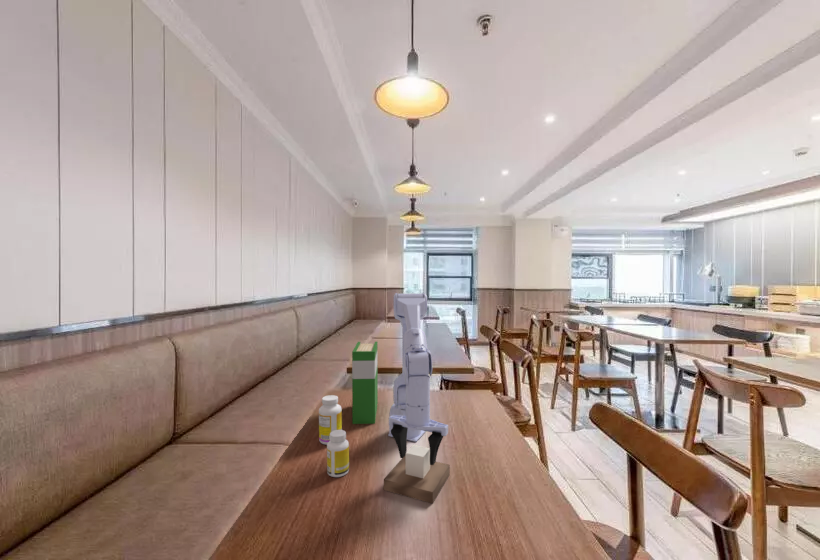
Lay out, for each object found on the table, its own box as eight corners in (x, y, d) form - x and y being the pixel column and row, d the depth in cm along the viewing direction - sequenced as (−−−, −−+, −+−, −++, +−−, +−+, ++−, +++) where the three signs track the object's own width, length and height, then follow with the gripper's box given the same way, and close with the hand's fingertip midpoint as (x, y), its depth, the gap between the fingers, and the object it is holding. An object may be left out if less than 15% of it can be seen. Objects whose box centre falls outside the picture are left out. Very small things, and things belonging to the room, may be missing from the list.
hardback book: (358, 404, 134) (357, 341, 134) (377, 404, 134) (377, 341, 134) (352, 424, 116) (352, 351, 116) (374, 423, 117) (374, 351, 116)
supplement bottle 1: (338, 433, 109) (338, 392, 109) (344, 442, 103) (344, 399, 103) (316, 438, 106) (316, 395, 106) (321, 447, 100) (321, 403, 100)
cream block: (405, 474, 83) (405, 452, 83) (413, 464, 87) (413, 444, 87) (423, 478, 81) (423, 456, 81) (430, 468, 85) (430, 448, 85)
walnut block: (383, 489, 81) (383, 479, 81) (405, 464, 92) (405, 454, 92) (432, 503, 76) (432, 492, 76) (449, 474, 87) (449, 464, 87)
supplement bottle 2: (352, 468, 90) (352, 430, 90) (342, 479, 85) (341, 439, 85) (334, 464, 92) (334, 427, 91) (322, 475, 86) (322, 436, 86)
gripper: (382, 403, 83) (382, 461, 83) (441, 413, 77) (441, 475, 77) (396, 394, 89) (396, 447, 89) (450, 402, 83) (450, 459, 83)
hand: (417, 459), depth 84 cm, fingers open, 7 cm apart
